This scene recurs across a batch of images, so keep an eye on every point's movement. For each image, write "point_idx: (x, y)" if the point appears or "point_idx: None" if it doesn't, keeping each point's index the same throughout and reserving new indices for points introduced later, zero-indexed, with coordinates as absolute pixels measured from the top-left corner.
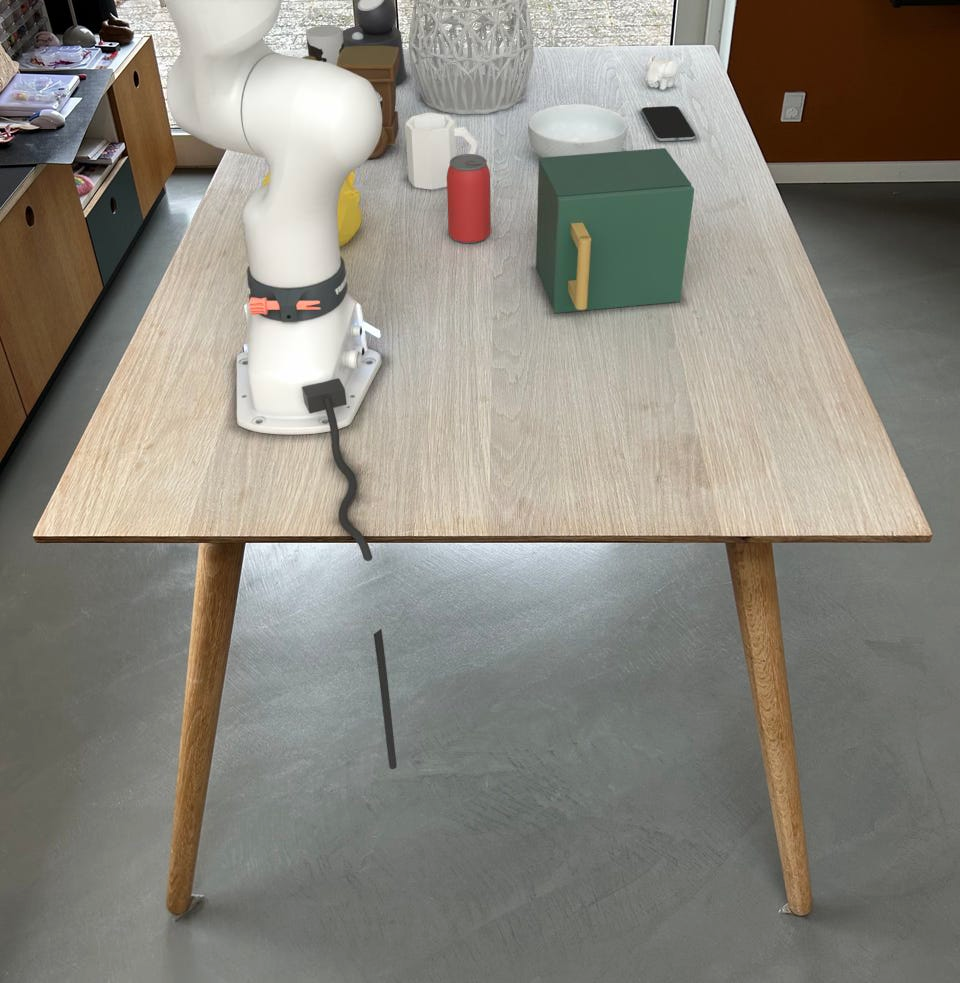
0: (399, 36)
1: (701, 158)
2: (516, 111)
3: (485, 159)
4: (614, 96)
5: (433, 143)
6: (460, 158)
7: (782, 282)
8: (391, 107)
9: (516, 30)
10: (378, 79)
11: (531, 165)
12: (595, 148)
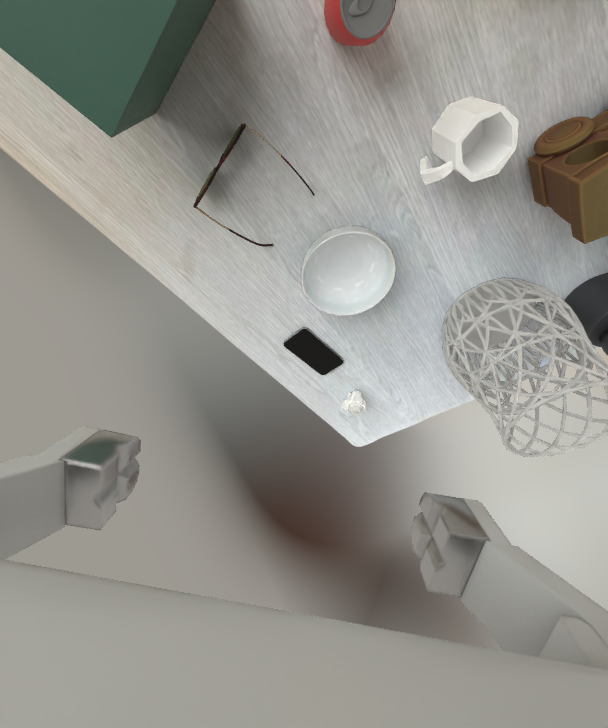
0: (588, 333)
1: (260, 320)
2: (437, 312)
3: (348, 28)
4: (375, 370)
5: (466, 117)
6: (386, 10)
7: (38, 151)
8: (553, 172)
9: (465, 360)
10: (591, 163)
11: (375, 228)
12: (310, 249)
